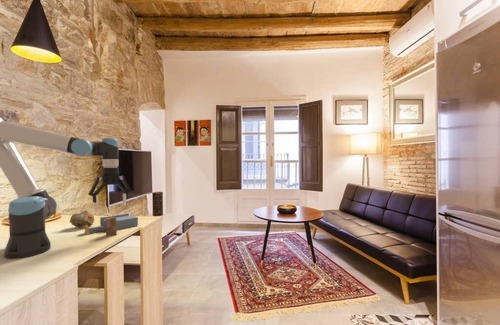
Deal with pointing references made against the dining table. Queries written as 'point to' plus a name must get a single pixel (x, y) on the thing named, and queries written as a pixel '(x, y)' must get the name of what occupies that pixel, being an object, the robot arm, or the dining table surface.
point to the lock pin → (94, 229)
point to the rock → (82, 219)
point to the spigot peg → (111, 226)
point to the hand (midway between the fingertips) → (111, 207)
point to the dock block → (121, 221)
